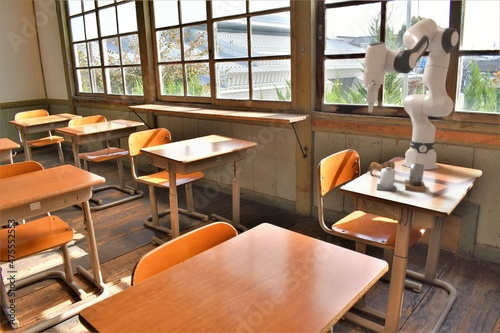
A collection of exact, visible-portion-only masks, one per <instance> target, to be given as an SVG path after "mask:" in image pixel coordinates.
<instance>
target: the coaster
mask: <svg viewBox="0 0 500 333" xmlns="http://www.w3.org/2000/svg"><path fill="white" fill-rule="evenodd" d="M376 191H383V192H390V193H391V192H392V193H396V192H397V186H396V185H395V184H394V186H393V189H384V188H381V187H380V183H377V184H376Z"/></svg>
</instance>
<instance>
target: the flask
mask: <svg viewBox="0 0 500 333" xmlns="http://www.w3.org/2000/svg"><path fill="white" fill-rule="evenodd" d="M424 171H425V170H424V165H422V164H411V168H410V169H409V177H408V180H409V185H412V186H422V181H424V180H423V179H424V173H425V172H424Z"/></svg>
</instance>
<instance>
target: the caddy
mask: <svg viewBox="0 0 500 333" xmlns="http://www.w3.org/2000/svg"><path fill="white" fill-rule="evenodd" d="M426 188H427V187H426V185H425V181H424V180H422V186H412V185H409V179H405V180H404V190H405V191H411V192H420V193H426Z"/></svg>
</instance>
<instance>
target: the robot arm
mask: <svg viewBox="0 0 500 333" xmlns="http://www.w3.org/2000/svg"><path fill="white" fill-rule="evenodd" d="M459 39H460V34H459V32H458V30H457V29H456V28H453V27H438V25H437V22H436V21H435V20H434V19H433V18H429V17H428V18H424V19H421V20H419V21H417V22H416V23H414V24H413V25H411V26H409V28H407V29H406V31H405V32H404V33H403V36H402V43H403V46H404V48H406V49H397V50H392V49H390V48H388V47H387V43H386V42H385V41H375V42H371V43H369V44H368V45H367V46H366V49H365V50H366V51H365V56H364V71H363V78H362V84H363V85H365V88H366V89H367V91H366V103H368V104H367V106H368V107H367V108H368V109H367V112H368V113H373V111H374V106H375V103H376V100H377V98H378V93H379V89H381V85H384V83H385V82H384V81H385V73H392V74H403V75H404V74H405V75H407V74H410V73H411V72H412V71H413V70H414V69H415V68H416V65H417V63H418V61H419V60H420V59H421V57H423V55H424V54H425V53H426V52H429V53H428V56H427V59H426V61H425V65H424V70H423V73H422V78H421V82H422V84H423V86H425V87H426V88H428V94H425V93H413V94H409V95H407V96H406V97H405V99H404V101H403V109H404V111H405V112H406V113H407V114H408V115H409V117H410V120H411V123H412V135H411V140H410V145H409V146H410V147H409V149H408V150H406V152H405V155H404V156H405V157H404V159H403V161H402V162H401V163H400V165H401V166H404V167H407V168H410V169H411V164H422V165H424V171H425V170H429V171H430V170H434V169H436V170H437V169H439V168H440V167H439V165H438V164H436V163H437V152H436V151H435V150H434V149H435V145H436V144H435V143H436V142H435V138H436V137H435V136H436V132H437V131H436V130H437V128H436V126H435V125H434V124H433V123H432V122H430V120H429V117H436V118H441V117H443V118H444V117H447V116H449V115H450V114H451V113H452V112H453V109H454V102H453V99H452V98H451V97H450V96H449V95H448V92H447V90H446V81H447V75H448V71H449V65H450V60H451V59H450V57H451V52H452V51H453V50H454V49H455V48H456V47H457V45H458V43H459Z"/></svg>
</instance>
